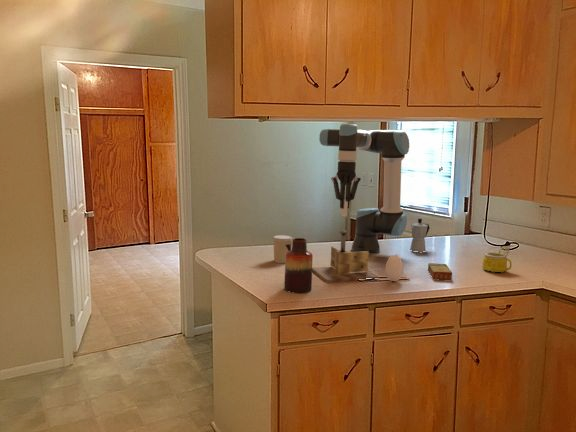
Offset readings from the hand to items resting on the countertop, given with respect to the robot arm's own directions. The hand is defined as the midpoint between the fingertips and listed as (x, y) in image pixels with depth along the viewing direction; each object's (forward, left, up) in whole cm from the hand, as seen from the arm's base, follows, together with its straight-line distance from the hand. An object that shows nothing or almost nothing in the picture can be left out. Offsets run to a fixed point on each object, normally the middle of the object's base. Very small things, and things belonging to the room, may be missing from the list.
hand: (344, 215), depth 220 cm
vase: (+25, +14, -27) cm, 39 cm away
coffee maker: (-63, -39, -27) cm, 79 cm away
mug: (-77, +6, -27) cm, 82 cm away
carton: (-45, +8, -28) cm, 53 cm away
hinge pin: (0, 0, -17) cm, 17 cm away
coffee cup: (+18, -31, -27) cm, 45 cm away
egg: (-19, +12, -27) cm, 35 cm away
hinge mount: (-2, -2, -27) cm, 27 cm away
